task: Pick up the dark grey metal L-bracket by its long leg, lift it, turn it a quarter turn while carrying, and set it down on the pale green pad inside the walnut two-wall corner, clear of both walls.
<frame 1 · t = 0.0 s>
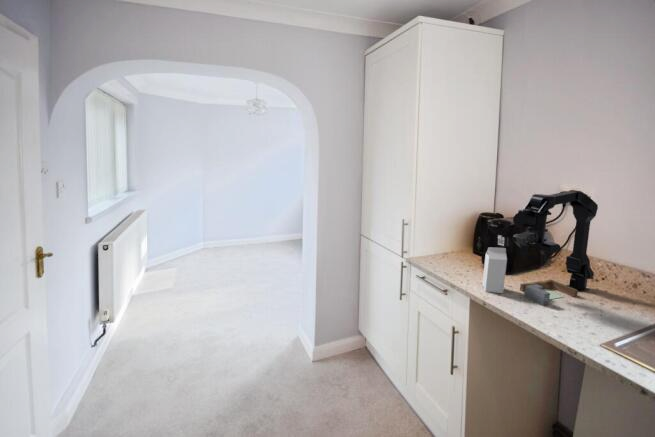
hand: (532, 262, 155), 15 cm above the worktop, fingers open, 9 cm apart
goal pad: (547, 294, 160), on the worktop
bracket: (538, 300, 153), on the worktop
milk carton: (492, 290, 164), on the worktop
wooden corner frame: (547, 294, 160), on the worktop
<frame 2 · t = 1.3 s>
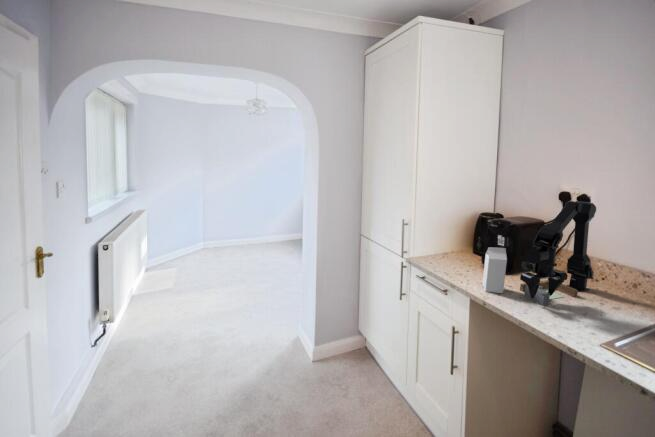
hand: (541, 296, 150), 3 cm above the worktop, fingers open, 9 cm apart
nothing on the worktop moved.
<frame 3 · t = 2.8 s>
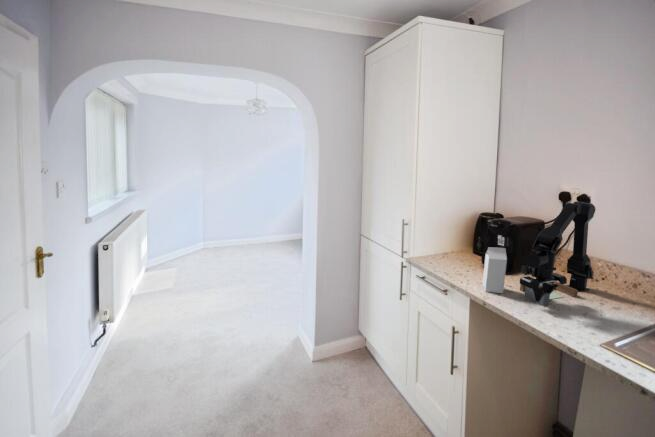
hand: (540, 300, 151), 1 cm above the worktop, fingers closed on bracket, 3 cm apart
bracket: (538, 300, 153), on the worktop, touching gripper
everything else where it was.
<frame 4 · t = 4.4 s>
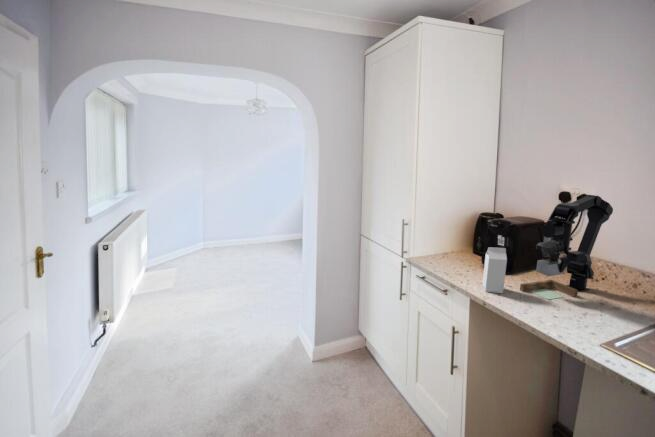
hand: (557, 270, 157), 11 cm above the worktop, fingers closed on bracket, 3 cm apart
bracket: (550, 272, 158), point 10 cm above the worktop, touching gripper
everything else where it was.
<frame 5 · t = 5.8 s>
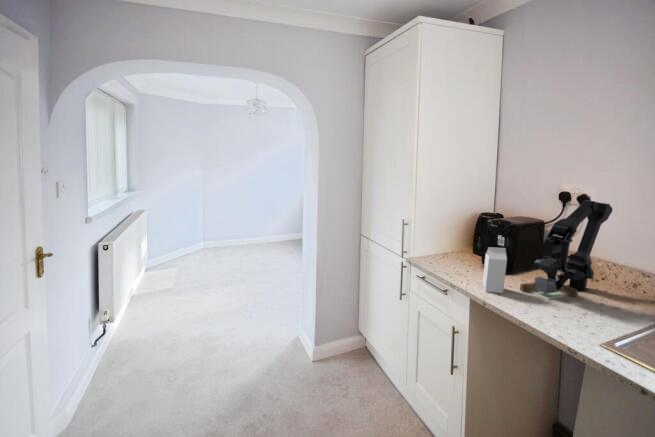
hand: (554, 288, 158), 3 cm above the worktop, fingers closed on bracket, 3 cm apart
bracket: (547, 289, 159), point 2 cm above the worktop, touching gripper
everything else where it was.
when the fingers open (3 cm above the worktop, at t = 6.5 s): bracket drops 1 cm, resting on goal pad.
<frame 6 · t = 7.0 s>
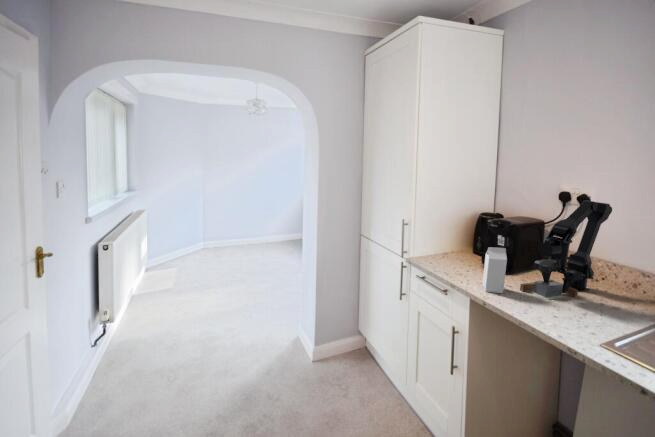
hand: (554, 289, 158), 3 cm above the worktop, fingers open, 8 cm apart
bracket: (547, 293, 160), resting on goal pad
everything else where it was.
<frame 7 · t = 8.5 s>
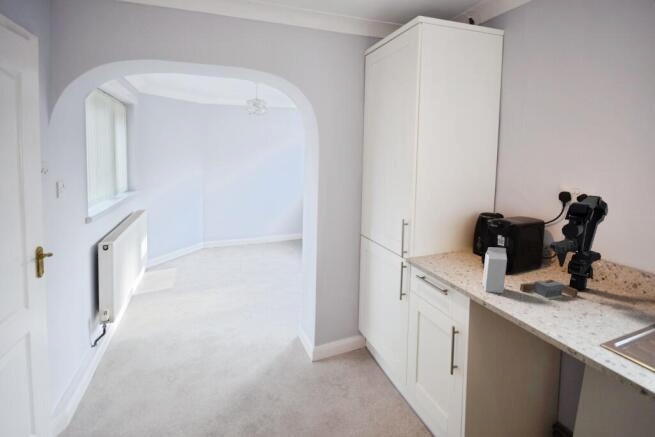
hand: (571, 270, 154), 12 cm above the worktop, fingers open, 9 cm apart
nothing on the worktop moved.
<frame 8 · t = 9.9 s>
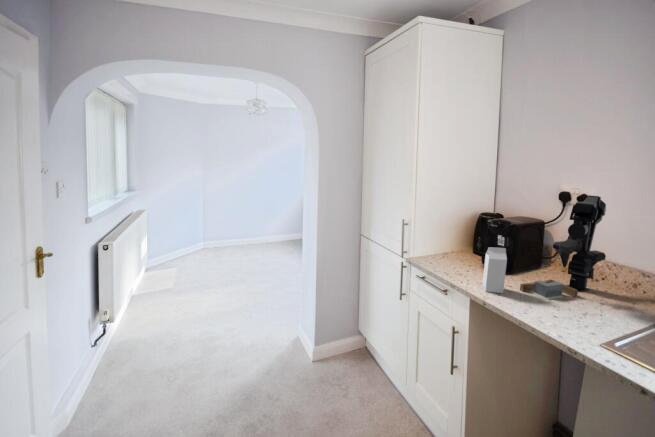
hand: (574, 270, 154), 12 cm above the worktop, fingers open, 9 cm apart
nothing on the worktop moved.
at the end: bracket inside the target area on the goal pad (0.3 cm from its centre), point 0.1 cm above the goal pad's base; bracket tilted 0°; bracket touching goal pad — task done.
